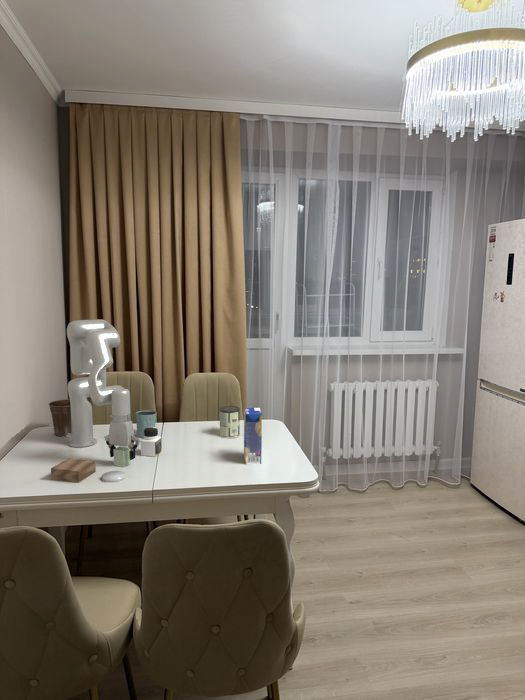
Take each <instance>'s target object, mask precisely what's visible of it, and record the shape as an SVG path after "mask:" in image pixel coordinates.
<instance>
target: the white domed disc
mask: <svg viewBox="0 0 525 700" xmlns="http://www.w3.org/2000/svg"><path fill="white" fill-rule="evenodd" d="M126 478H127V477H126V472H125V471H123V470H112V471H107V472H104V473H103V474H101V481H103V482H104V483H105V482H106V483H117V482H118V483H119V482H121V481H123V480H125V479H126Z"/></svg>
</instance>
